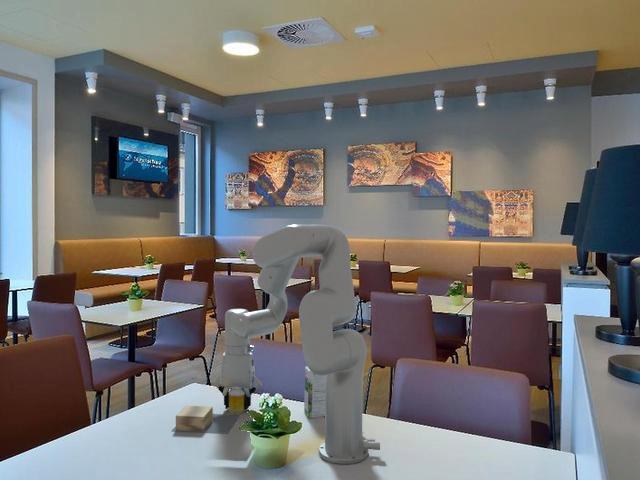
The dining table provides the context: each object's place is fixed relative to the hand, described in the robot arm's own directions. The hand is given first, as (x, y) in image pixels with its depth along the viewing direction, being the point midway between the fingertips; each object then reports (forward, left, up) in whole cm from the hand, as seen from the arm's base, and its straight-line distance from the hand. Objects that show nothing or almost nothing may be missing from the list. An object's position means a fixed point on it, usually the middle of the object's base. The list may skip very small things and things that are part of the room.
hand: (237, 407), depth 156 cm
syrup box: (-24, -2, -2) cm, 24 cm away
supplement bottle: (0, 0, -2) cm, 2 cm away
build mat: (+6, +11, -2) cm, 13 cm away
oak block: (+9, +13, -1) cm, 16 cm away
